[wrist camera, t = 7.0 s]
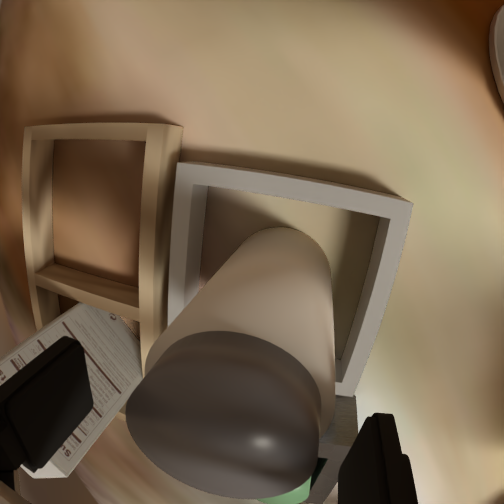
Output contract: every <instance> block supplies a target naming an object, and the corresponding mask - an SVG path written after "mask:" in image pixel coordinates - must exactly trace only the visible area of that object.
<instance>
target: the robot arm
mask: <svg viewBox="0 0 504 504" xmlns="http://www.w3.org/2000/svg"><path fill="white" fill-rule="evenodd" d="M489 54H490V60H491V65H492V71H493V74H494V78H495V81H496V85H497V88H498V91H499V94H500V96H501V99H502V101H503V104H504V5H502V6H501V7H500V8H499V10H498V11H497V12H496V13H495V15H494V17H493V20H492V22H491V25H490V33H489ZM93 405H94V401H93V396H92V392H91V387H90V381H89V376H88V371H87V365H86V359H85V352H84V348H83V347H82V346H81V343H80V341H78V340H76V339H73V338H71V337H68V336H63V337H61V338H60V339H58V340H57V341H56V342H55V343H53V344H52V345H51V346H49V347H48V348H47V349H46V350H44V351H43V352H42V353H40V354H39V355H38V356H37V357H35V358H34V359H33V360H32V361H30V362H29V363H28V364H26V365H25V366H24V367H23V368H21V369H20V370H19V371H18V372H16V373H15V374H14V375H13V376H12V377H10V378H9V379H8V380H7V381H5V382H4V383H3V384H2V385H0V504H31V503H30V502H29V501H27V500H26V499H24V498H23V497H22V496H21V492H20V481H19V467H20V466H21V464H23V466H24V467H26V468H27V469H29V470H30V471H31V472H33V473H35V472H36V471H37V469H41V468H43V467H44V466H45V465H46V464H47V462H48V461H49V460H50V459H51V458H52V456H53V455H54V454H55V453H56V452H57V450H58V449H59V448H60V447H61V446H62V445H63V443H64V442H65V441H66V440H67V439H68V437H69V436H70V435H71V434H72V433H73V432H74V430H75V429H76V428H77V427H78V426H79V424H80V423H81V422H82V421H83V420H84V419H85V417H86V416H87V415H88V414H89V413H90V412H91V410H92V408H93ZM338 504H418V500H417V495H416V489H415V484H414V479H413V474H412V469H411V464H410V460H409V457H408V456H407V455H406V454H402V451H401V446H400V442H399V437H398V432H397V428H396V424H395V419H394V416H393V415H392V414H385V413H374V414H373V415H372V417H367V418H366V420H365V422H364V424H363V426H362V428H361V429H360V431H359V433H358V435H357V437H356V439H355V441H354V443H353V445H352V446H351V448H350V450H349V452H348V454H347V456H346V457H345V459H344V461H343V463H342V464H341V466H340V469H339V473H338Z"/></svg>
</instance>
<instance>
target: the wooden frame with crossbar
mask: <svg viewBox="0 0 504 504" xmlns="http://www.w3.org/2000/svg"><path fill="white" fill-rule="evenodd" d="M182 134H183V127H181V126H175V125H169V124H158V123H74V124H54V125H39V126H27V127H24V139H23V155H22V221H23V238H24V250H25V260H26V269H27V277H28V284H29V291H30V297H31V303H32V309H33V314H34V320H35V325H36V329H37V331H38V330H40V329H41V328H43V327H44V326H46V325H47V324H49V323H50V322H51V321H53V320H54V319H56V318H57V317H59V316H60V315H61V314H60V307H59V300H58V294H60V295H63V296H65V297H68V298H71V299H73V300H76V301H79V302H81V303H84V304H87V305H90V306H93V307H96V308H98V309H101V310H104V311H107V312H110V313H113V314H116V315H119V316H122V317H125V318H128V319H132V320H135V321H138V322H140V342H141V359H142V374H143V378H144V377H145V362H146V358H147V355H148V353H149V350H150V349H151V347H152V345H153V344H154V342H155V341H156V340H157V339H158V338H159V337H160V335H161V334H162V333H163V332H164V331H165V330H166V329H167V327H168V288H169V264H170V245H171V229H172V215H173V202H174V190H175V180H176V169H177V163H178V162H179V160H180V151H181V142H182ZM54 139H102V140H131V141H146V148H145V158H144V169H143V181H142V196H141V213H140V238H139V288H137V287H133V286H129V285H126V284H122V283H119V282H115V281H112V280H108V279H105V278H101V277H98V276H94V275H91V274H88V273H84V272H81V271H78V270H75V269H71V268H68V267H65V266H62V265H59V264H55V262H54V249H53V229H52V172H53V152H54ZM127 401H128V400H127ZM127 401H126V402H125V404H124V405H123V406H122V408H121V409H120V410H119V411H118V413H117V414H116V415H115V417H116V418H118V419H120V420H123V421H125V422H126V415H125V410H126V404H127Z"/></svg>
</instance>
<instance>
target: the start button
mask: <svg viewBox="0 0 504 504" xmlns="http://www.w3.org/2000/svg"><path fill="white" fill-rule="evenodd" d="M310 482H311V477H310V478H309V479H308V480H307V481H306V482H305V483H304V484H302V485H301V486H300V487H298V488H296V489H294V490H293V491H291V492H288V493H285V494H283V495H279V496H275V497H270V498H263V499H257V500H259V501H261V502H264V503H267V504H298V503H301V502H303V501H305V500H306V499H307V498H308V496H309V490H310Z"/></svg>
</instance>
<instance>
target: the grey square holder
mask: <svg viewBox="0 0 504 504" xmlns="http://www.w3.org/2000/svg"><path fill="white" fill-rule="evenodd" d="M357 435H358V422H357V407H356V396H353V397H349V396H342V395H335V411H334V416H333V419H332V422H331V424H330V426H329V427H328V429H327V431H326V432H325V433H324V435H323V436H322V437H321V438H320V439H319V449H318V460H317V465H316V468H315V470H314V472H313V474H312V475H311V482H310V490H309V496H308V498H307V499H306V500H305V501H303V502H306V503H314V504H323V502H324V501H325V499H326V498H327V497H328V495H329V494H330V492H331V491H332V489H333V488H334V486H335V485H336V483H337V482H338V473H339V469H340V466H341V464H342V463H343V461H344V459H345V457H346V456H347V454H348V452H349V450H350V448H351V446H352V445H353V443H354V441H355V439H356V437H357Z"/></svg>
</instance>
